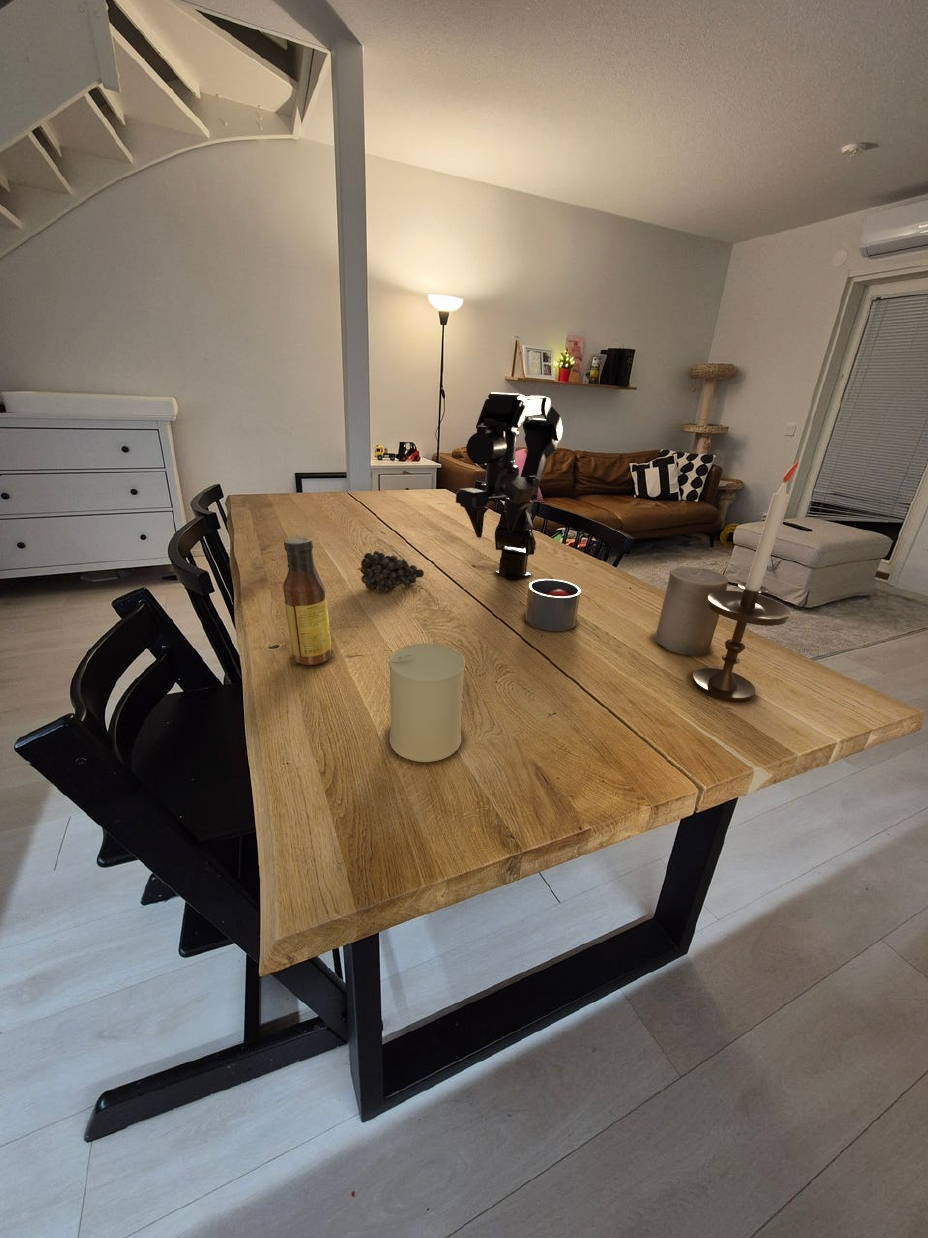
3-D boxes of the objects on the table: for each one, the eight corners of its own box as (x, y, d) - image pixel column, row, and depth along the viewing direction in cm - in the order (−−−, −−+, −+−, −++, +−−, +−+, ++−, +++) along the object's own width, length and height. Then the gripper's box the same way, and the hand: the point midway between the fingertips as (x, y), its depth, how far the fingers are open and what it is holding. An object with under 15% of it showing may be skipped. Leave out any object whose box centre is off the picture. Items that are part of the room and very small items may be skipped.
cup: (548, 607, 107) (552, 576, 104) (585, 623, 100) (591, 590, 97) (515, 617, 101) (518, 585, 98) (552, 635, 94) (557, 601, 91)
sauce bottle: (339, 653, 84) (332, 537, 76) (317, 670, 79) (307, 548, 70) (306, 645, 86) (295, 532, 78) (282, 662, 80) (268, 541, 72)
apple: (547, 615, 104) (562, 588, 104) (568, 625, 100) (584, 597, 100) (534, 605, 100) (549, 577, 100) (555, 615, 96) (571, 586, 96)
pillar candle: (709, 639, 96) (730, 565, 90) (708, 661, 88) (732, 581, 82) (656, 628, 100) (673, 555, 93) (651, 648, 92) (669, 570, 85)
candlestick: (774, 694, 79) (857, 463, 64) (734, 713, 73) (815, 466, 59) (711, 664, 87) (773, 453, 73) (671, 679, 82) (729, 454, 67)
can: (391, 717, 68) (390, 639, 63) (458, 717, 69) (462, 639, 64) (387, 763, 60) (385, 676, 55) (464, 762, 61) (469, 676, 56)
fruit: (421, 543, 114) (355, 545, 108) (433, 564, 109) (364, 569, 103) (416, 573, 120) (353, 577, 114) (427, 595, 114) (361, 601, 108)
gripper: (493, 467, 91) (487, 550, 98) (560, 463, 102) (551, 537, 109) (455, 459, 99) (452, 537, 106) (521, 456, 110) (515, 526, 117)
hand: (495, 534), depth 109 cm, fingers open, 9 cm apart
